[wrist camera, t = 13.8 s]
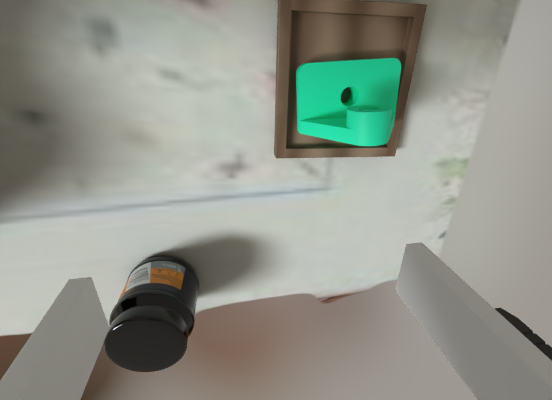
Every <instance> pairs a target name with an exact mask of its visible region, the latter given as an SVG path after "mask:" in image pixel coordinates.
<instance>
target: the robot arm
mask: <svg viewBox="0 0 552 400" xmlns="http://www.w3.org/2000/svg"><path fill="white" fill-rule="evenodd" d="M395 291H396V292H397V294H398V295H399V296H400V297H401V299H402V300H403V302H404V303H405V304H406V306H407V307H408V308H409V309H410V311H411V312H412V314H413V315H414V316H415V318H416V319H417V320H418V321H419V323H420V324H421V325H422V327H423V328H424V329H425V331H426V332H427V333H428V335H429V336H430V337H431V339H432V340H433V341H434V343H435V344H436V345H437V347H438V348H439V349H440V351H441V352H442V353H443V354H444V356H445V357H446V358H447V360H448V361H449V362H450V364H451V365H452V366H453V368H454V369H455V370H456V372H457V373H458V374H459V376H460V377H461V378H462V380H463V381H464V382H465V384H466V385H467V386H468V388H469V389H470V390H471V391H472V393H473V394H474V396H475V397H476V398H477V400H552V348H551V347H550V346H549V345H546V344H545V341H544V340H542V339H541V338H540V337H539V336H538V335H537V334H534V333H533V332H532V330H531V329H530V328H529V327H527V326H526V325H525V324H524V323H523V322H522V321H521V320H519V319H518V318H517V317H515V316H513V315H512V314H510V313H508V312H507V311H505V310H503V309H501V308H495V309H494V308H493V307H492V306H491V305H490V304H489V303H488V302H486V301H485V300H484V299H483V298H482V297H481V296H480V295H479V294H478V293H476V292H475V291H474V290H473V289H472V288H471V287H470V286H469V285H468V284H467V283H466V282H465V281H463V280H462V279H461V278H460V277H459V276H458V275H457V274H456V273H455V272H454V271H452V270H451V269H450V268H449V267H448V266H447V265H446V264H445V263H444V262H442V261H441V260H440V259H439V258H438V257H437V256H436V255H435V254H434V253H433V252H432V251H431V250H429V249H428V248H427V247H426V246H425V245H424V244H423V243H413V244H406V248H405V252H404V256H403V260H402V265H401V269H400V273H399V277H398V281H397V285H396V289H395ZM108 330H109V326H108V323H107V320H106V317H105V314H104V312H103V309H102V306H101V303H100V300H99V297H98V295H97V292H96V289H95V286H94V283H93V280H92V278H91V277H88V278H78V279H69V281H68V282H67V284H66V285H65V286H64V288H63V289H62V291H61V292H60V294H59V295H58V297H57V298H56V300H55V301H54V303H53V304H52V306H51V307H50V309H49V310H48V311H47V313H46V314H45V316H44V317H43V319H42V320H41V322H40V323H39V325H38V326H37V328H36V329H35V331H34V332H33V333H32V335H31V336H30V338H29V340H28V341H27V342H26V344H25V345H24V347H23V348H22V350H21V351H20V353H19V354H18V356H17V357H16V359H15V360H14V362H13V363H12V364H11V366H10V367H9V369H8V370H7V372H6V373H5V375H4V376H3V378H2V379H1V381H0V400H80V399H81V396H82V394H83V391H84V389H85V386H86V384H87V381H88V379H89V377H90V374H91V372H92V369H93V367H94V364H95V362H96V359H97V357H98V355H99V352H100V350H101V347H102V345H103V342H104V340H105V337H106V335H107V333H108Z"/></svg>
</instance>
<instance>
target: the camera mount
mask: <svg viewBox="0 0 552 400" xmlns="http://www.w3.org/2000/svg"><path fill="white" fill-rule="evenodd" d="M400 73H401V62H400V61H399V60H398V59H397V58H380V59H360V60H343V61H327V62H314V63H303V64H301V65H300V66H299V67H298V69H297V71H296V89H297V131H298V132H299V133H300V134H305V135H310V136H314V137H319V138H324V139H329V140H333V141H338V142H343V143H348V144H352V145H358V146H379V145H383V144H386V143H388V141H389V138H390V135H391V132H392V129H393V127H394V121H395V113H396V105H397V97H398V89H399V81H400ZM347 87H348V88H349V89H350V97H349V99H348V100H347V101H346V102H345V103H342V102H341V93H342V92H343V90H344V89H345V88H347Z"/></svg>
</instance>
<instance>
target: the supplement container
mask: <svg viewBox="0 0 552 400" xmlns="http://www.w3.org/2000/svg"><path fill="white" fill-rule="evenodd" d="M198 291H199V280H198V276H197V274H196V272H195V271H194V270H193V268H192V267H191V266H190V265H188V264H187V263H186V262H184V261H182V260H180V259H177V258H173V257H167V256H159V257H153V258H149V259H147V260H145V261H143V262H141V263H140V264H138V265H137V266H136V267H135V268H134V269H133V270H132V272H131V273H130V275H129V277H128V280H127V283H126V285H125V287H124V289H123V292H122V294H121V296H120V298H119V300H118V302H117V304H116V305H115V307H114V308H113V310H112V312H111V315H110V320H109V325H110V327H109V330H108V333H107V335H106V337H105V340H104V350H105V352H106V354H107V356H108V357H109V358H110V359H111V361H113V362H114V363H115V364H117V365H119V366H120V367H122V368H125V369H128V370H131V371H137V372H152V371H159V370H162V369H165V368H168V367H170V366H172V365H173V364H175V363H176V362H178V361H179V360H180V359H181V358H182V357H183V355H184V353H185V351H186V348H187V342H188V337H189V336H190V334H191V333H192V330H193V328H194V322H195V317H194V315H195V308H196V301H197V294H198Z"/></svg>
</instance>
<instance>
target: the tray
mask: <svg viewBox="0 0 552 400" xmlns="http://www.w3.org/2000/svg"><path fill="white" fill-rule="evenodd" d="M426 6H427V5H424V4H408V3H391V2H375V1H358V0H278V22H277V63H276V104H275V146H274V154H275V156H276V158H322V157H379V156H395V153H396V149H397V144H398V139H399V134H400V130H401V125H402V120H403V115H404V110H405V106H406V101H407V96H408V91H409V87H410V82H411V77H412V72H413V68H414V63H415V58H416V53H417V49H418V44H419V39H420V34H421V30H422V25H423V20H424V15H425V11H426ZM380 58H397V59H398V60H399V61H400V62H401V73H400V81H399V89H398V97H397V105H396V113H395V121H394V127H393V129H392V132H391V135H390V138H389V141H388V143H386V144H383V145H379V146H358V145H352V144H348V143H343V142H338V141H333V140H329V139H324V138H319V137H314V136H310V135H305V134H300V133H299V132H298V131H297V89H296V71H297V69H298V67H299V66H300V65H301V64H303V63H314V62H327V61H343V60H360V59H380ZM349 97H350V89H349V88H348V87H347V88H345V89H344V90H343V92H342V93H341V102H342V103H345V102H346V101H347V100H348V99H349Z"/></svg>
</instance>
